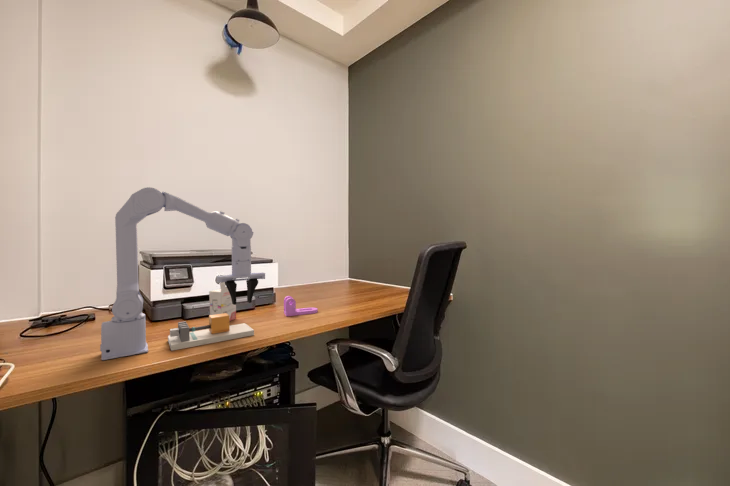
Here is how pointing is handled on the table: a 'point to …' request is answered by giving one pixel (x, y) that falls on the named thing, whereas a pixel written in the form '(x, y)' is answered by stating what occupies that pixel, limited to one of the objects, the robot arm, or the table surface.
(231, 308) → the ink cartridge box
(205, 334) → the board
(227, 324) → the orange block
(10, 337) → the table surface
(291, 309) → the bracket
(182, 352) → the table surface
